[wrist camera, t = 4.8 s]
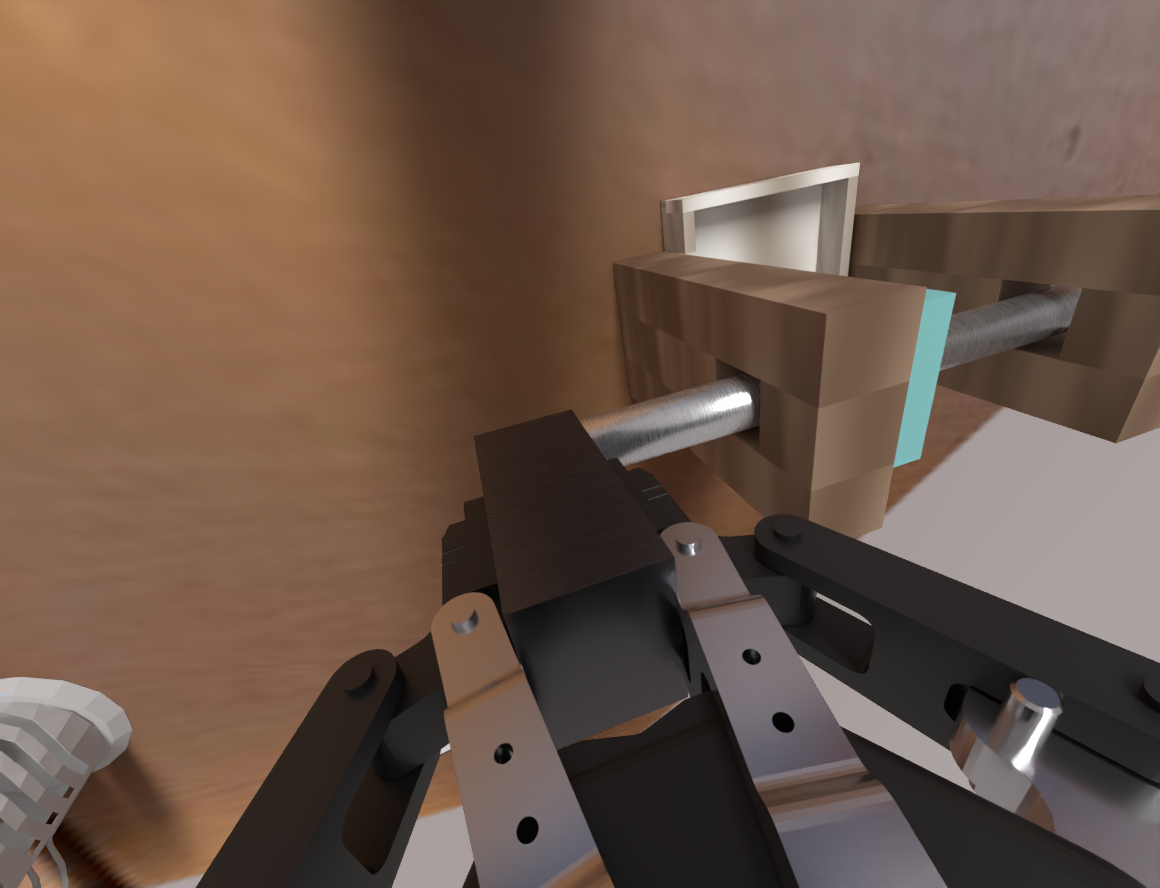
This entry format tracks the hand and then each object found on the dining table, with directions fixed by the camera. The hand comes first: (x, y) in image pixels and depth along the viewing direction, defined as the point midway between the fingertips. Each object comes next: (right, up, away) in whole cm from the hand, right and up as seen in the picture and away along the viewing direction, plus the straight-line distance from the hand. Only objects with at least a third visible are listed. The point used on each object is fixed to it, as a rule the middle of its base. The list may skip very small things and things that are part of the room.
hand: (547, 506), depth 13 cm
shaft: (+10, +5, +5) cm, 12 cm away
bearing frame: (+11, +10, +15) cm, 21 cm away
